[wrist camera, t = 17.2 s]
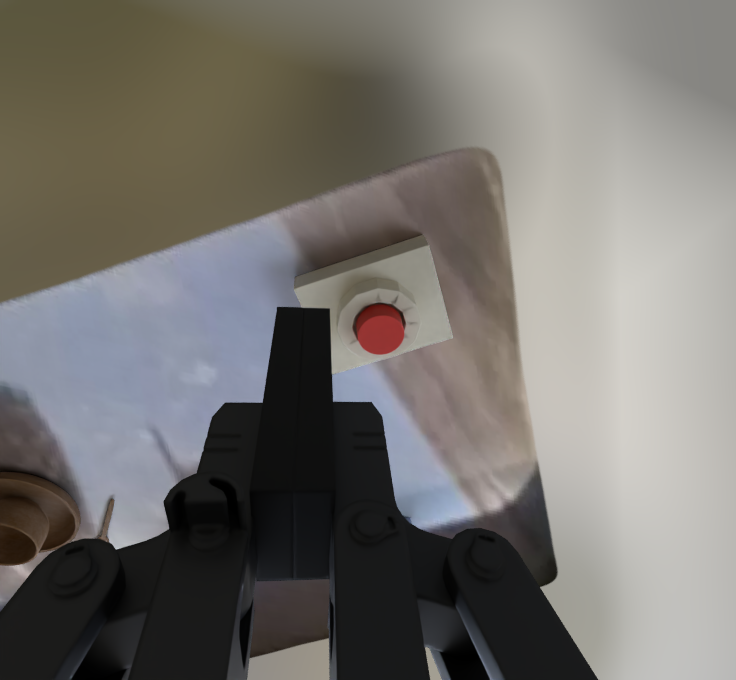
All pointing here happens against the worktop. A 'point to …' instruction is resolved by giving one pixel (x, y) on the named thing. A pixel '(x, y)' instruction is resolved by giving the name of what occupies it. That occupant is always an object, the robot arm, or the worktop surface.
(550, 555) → the worktop surface
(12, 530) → the place setting
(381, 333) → the stop button
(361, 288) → the button block
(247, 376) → the worktop surface
